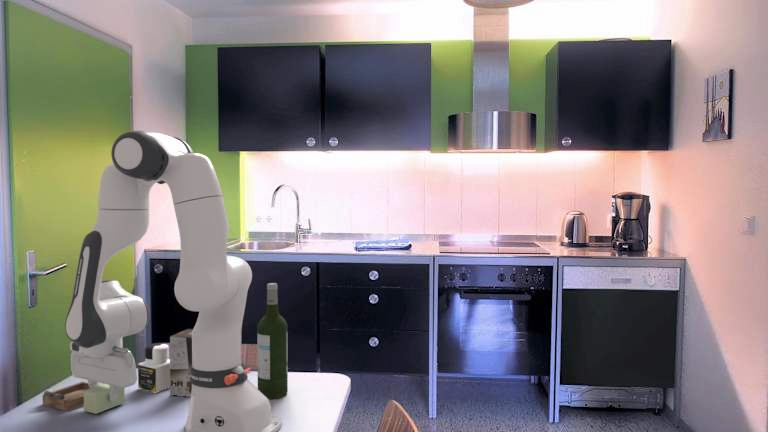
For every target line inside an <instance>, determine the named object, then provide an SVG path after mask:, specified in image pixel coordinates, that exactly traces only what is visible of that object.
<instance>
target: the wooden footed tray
mask: <svg viewBox="0 0 768 432" xmlns="http://www.w3.org/2000/svg"><path fill="white" fill-rule="evenodd" d="M87 389H90V387H89V385H88V381H87V382H86V381H80V382H78V383H75V384H72V385H69V386H66V387H63V388H59V389H57V390H54V391H50V390H45V391H44V392H43V394H42V405H43V406H46V407H51V408H54V409H57V410H62V411H64V412H70V411H73V410H75V409H79V408H82V407H84V390H87Z"/></svg>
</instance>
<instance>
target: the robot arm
mask: <svg viewBox="0 0 768 432" xmlns="http://www.w3.org/2000/svg"><path fill="white" fill-rule="evenodd" d="M110 155H111V160H112V163H111V164H109V165H107V166H106V167H104V169H103V170H102V174H101V177H100V181H99V191H98V198H97V199H98V201H97V203H98V204H97V216H96V220H95V223H94V225H93V227H92V230H91V231H90V232H88V233H87V234H86V235H85V236H84V238H83V241H82V242H81V243H82V244H81V247H80V248H81V249H80V253H79V255H78V256H79V257H78V262H77V267H76V273H75V279H74V286H73V291H72V292H73V293H72V298H71V303H70V307H69V309H68V312H67V313H66V314H67V315H66V317H65V322H64V326H65V327H64V330H65V333H66V336H67V338H68V339H69V340H70V341H71V342H70V343H69V348H70V351H72V352H71V354H70V368H71V369H70V370H71V373H72V375H73V377H74V378H78V379H82V380H86V381H87V383H88V385H89V387H90V388H93V387H96V386H98V385H99V384H100V383H101V384H108V385H109V388H110V389H111V391H110V394H107V400H108V401H110V402H114V401H116V400H117V393H118V391H119V389H120V387H121V388H124V389H125V388H128V387H131V386H134V385H135V384H136V383H137V382H138V381H137V380H138V377H137V376H138V372H137V366H136V361H135V357H134V356H133V353H132V352H131V351H130V349H128V348H126V347H124V346H123V342H124V341H123V338H124V337H128V336H132V335H135V334H138V333H141V332H143V331H144V330H145V329H146V328H147V327H148V324H149V321H150V316H151V314H150V307H149V304H148V303H147V301H146V300H145V299H144V298H142V297H141V295H140V296H139V295H135V294H132V293H130V292H128V291H127V290H125V289H124V288H123V287H122V286H121V283H120V282H119V281H118V280H116V279H106V280H105V279H104V280H103V275H104V270H105V267H106V266H107V264H108V262H110V260H111V259H112V258H114V257H115V256H116V255H117V254H118V253H120V252H122V251H124V250H126V249H128V248H130V247H132V246H134V245H135V244H137V243H138V242H139V241H140V240H141V239H143V237H144V236H145V235H146V234H147V231H148V229H149V224H150V191H151V189H152V187H153V186H154V185H155V184H159V185H164V184H167V186H168V188H169V190H170V194H171V199H172V203H173V208H174V213H175V217H176V218H175V219H176V223H177V227H178V232H179V240H180V241H179V242H180V258H179V259H180V262H179V263H180V264H179V271H178V275H177V277H176V280H175V282H174V288H173V290H174V296H175V298H176V301H177V302H178V303H179V305H180V306H182V308H184V309H185V310H187V311H191V312H199V313H198V317H197V319H196V322H195V325H194V327H193V328H192V329H193V332H192V365H191V367H190V382H191V383H192V390H191V397H189V398H190V400H189V406H188V415H187V419H186V422H185V425H184V429H185V432H277V431H279V430H280V429H281V427H282V423H283V421H282V419H281V418H279V417H278V416H277V417H276V416H274V415H273V414H272V408H271V403H270V399H268V398H267V397H266V396H264V395H263V394H262V393H261V392H260V391H259V390H258V387H257V386H256V385H254V384H253V382H251V381H250V380H249V379H248V378H249V377H248V374H250V373H251V367H247V368H246V367H245V365H244V363H243V361H242V329H243V320H244V315H245V309H246V303H247V297H248V290H249V288H250V285H251V283H252V279H253V272H252V268H251V266H250V265H249V263H248V262H247V261H246V260H245V259H243V258H241V257H238V256H233V255H227V254H228V253H227V252H228V251H227V250H228V249H227V245H228V243H227V242H228V236H229V232H230V223H229V219H228V215H227V211H226V206H225V201H224V196H223V192H222V188H221V184H220V181H219V179H218V176H217V173H216V170H215V168H214V167H215V166H214V165H213V163H212V161H211V160H210V158H209V157H207V155H204V154H201V153H196V152H194V151H193V149H192V147H191V146H190V145H189V144H188V143H187V142H186V141H184V140H183V139H181V138H178V137H176V136H170V135H166V134H163V133H161V132H156V131H144V130H132V131H127V132H125V133H123V134H120V135H118V137H117V138H116V139H115V140H114V143H112V147H111V154H110ZM123 347H124V348H123Z"/></svg>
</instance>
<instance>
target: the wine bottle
mask: <svg viewBox="0 0 768 432" xmlns="http://www.w3.org/2000/svg"><path fill="white" fill-rule="evenodd" d="M278 289H279V288H278V283H276V282H270V283H267V285H266V290H267V291H266V312H265V315H264V316H263V317H261V319H260V320H259V321H258V324H257V326H256V327H257V331H256V332H257V334H256V335H257V336H256V337H257V389H258V390H259V391H260V392H261V393H262V394H263V395H264V396H266V397H267V398H268V400H279V399H281V398H285V396H287V394H288V389H289V388H288V386H289V385H288V378H289V377H288V374H289V373H288V323H287V321H286V319H285V318H284V317H283V316H282V315H281V314H280V312H279V303H278V301H279V299H278Z"/></svg>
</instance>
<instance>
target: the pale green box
mask: <svg viewBox="0 0 768 432" xmlns="http://www.w3.org/2000/svg"><path fill="white" fill-rule="evenodd" d="M110 391H111V389H110V388H109V385H108V384H103V383H101V384H98V386H96V387H93V388H90V389H87V390H84V406H83V411H84V412H88V413H92V414H99V413H102V412H104V411H106V410H110V409H112V408H115V407H117V406H119V405H123V404H124V403H125V402H126V399H125V394H126V393H125V388H121V387H120V389H119V391H118V393H117V400H116V401H114V402H110V401H108V400H107V394H110Z"/></svg>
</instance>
